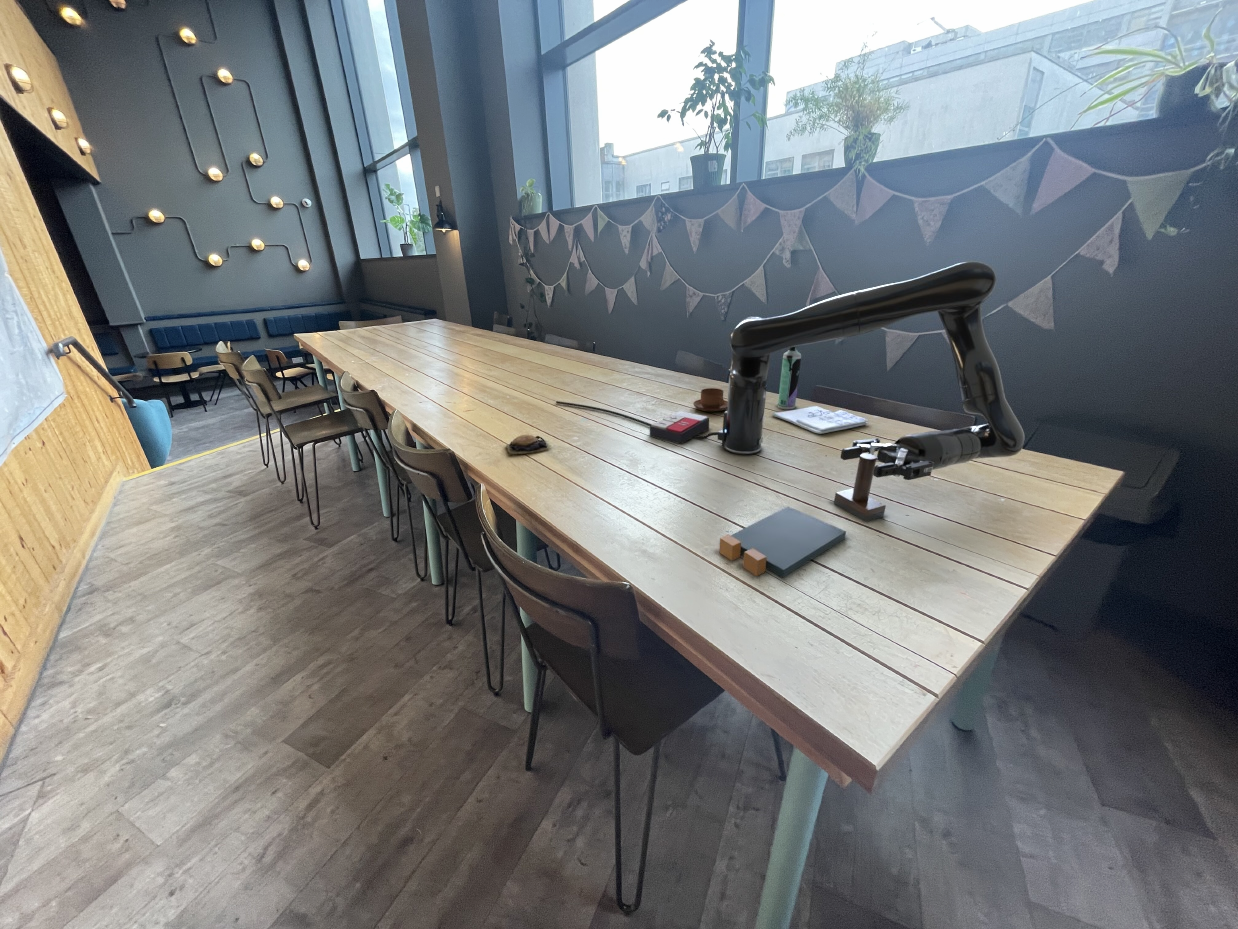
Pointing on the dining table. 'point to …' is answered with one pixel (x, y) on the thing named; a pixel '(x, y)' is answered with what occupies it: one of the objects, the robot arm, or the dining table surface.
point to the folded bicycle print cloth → (821, 419)
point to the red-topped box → (679, 427)
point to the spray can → (789, 379)
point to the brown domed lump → (526, 445)
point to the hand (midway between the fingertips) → (858, 462)
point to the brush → (861, 492)
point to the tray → (788, 539)
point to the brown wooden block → (730, 547)
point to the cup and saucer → (711, 400)
